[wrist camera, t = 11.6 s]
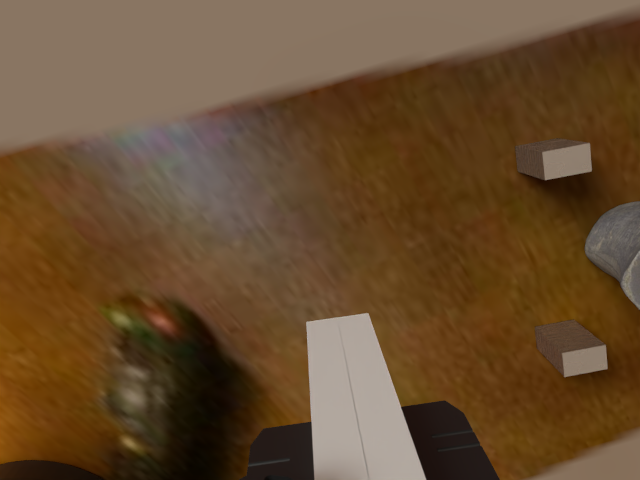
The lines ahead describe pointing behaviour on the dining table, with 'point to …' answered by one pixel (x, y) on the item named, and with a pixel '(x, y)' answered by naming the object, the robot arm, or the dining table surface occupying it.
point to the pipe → (618, 247)
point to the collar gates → (569, 336)
